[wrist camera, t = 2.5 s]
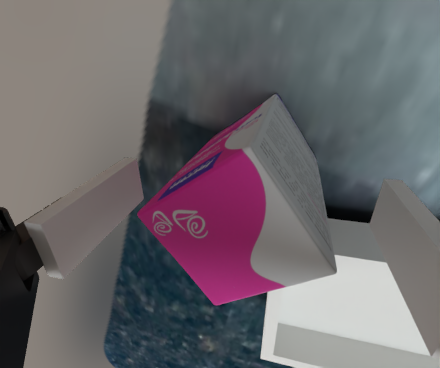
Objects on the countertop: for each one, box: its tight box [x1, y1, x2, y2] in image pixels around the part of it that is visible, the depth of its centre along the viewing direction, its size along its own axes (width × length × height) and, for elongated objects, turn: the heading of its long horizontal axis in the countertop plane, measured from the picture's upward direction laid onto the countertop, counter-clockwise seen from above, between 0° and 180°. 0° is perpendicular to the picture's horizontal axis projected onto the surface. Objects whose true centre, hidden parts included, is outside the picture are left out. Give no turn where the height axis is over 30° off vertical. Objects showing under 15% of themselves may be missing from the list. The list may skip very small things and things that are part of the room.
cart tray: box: [261, 218, 440, 368], centre depth 19 cm, size 19×13×6 cm
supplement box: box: [137, 94, 337, 305], centre depth 14 cm, size 6×6×12 cm
